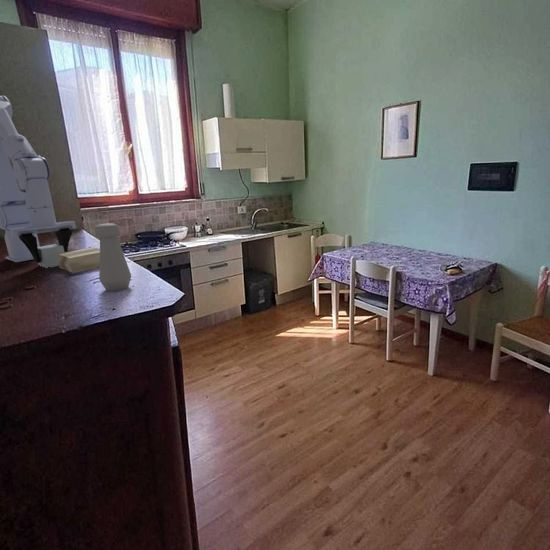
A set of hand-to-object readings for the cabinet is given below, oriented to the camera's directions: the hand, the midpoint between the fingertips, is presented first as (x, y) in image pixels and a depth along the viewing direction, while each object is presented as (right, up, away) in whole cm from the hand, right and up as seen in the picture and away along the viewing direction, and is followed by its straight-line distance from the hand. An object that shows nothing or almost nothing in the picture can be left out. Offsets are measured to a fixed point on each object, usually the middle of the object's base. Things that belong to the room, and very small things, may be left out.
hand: (51, 259), depth 95 cm
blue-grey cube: (0, -1, 0) cm, 2 cm away
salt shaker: (+27, -7, -22) cm, 36 cm away
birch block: (+10, -2, -3) cm, 11 cm away
